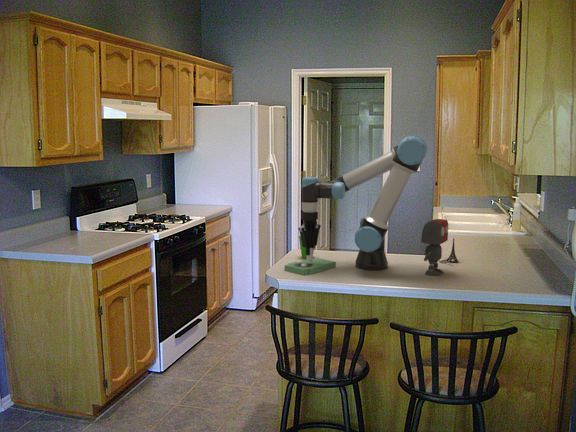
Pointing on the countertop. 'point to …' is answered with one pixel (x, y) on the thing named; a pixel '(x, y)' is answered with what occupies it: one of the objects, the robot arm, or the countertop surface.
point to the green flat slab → (310, 266)
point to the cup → (303, 249)
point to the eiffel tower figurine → (451, 257)
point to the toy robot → (434, 243)
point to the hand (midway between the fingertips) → (309, 261)
